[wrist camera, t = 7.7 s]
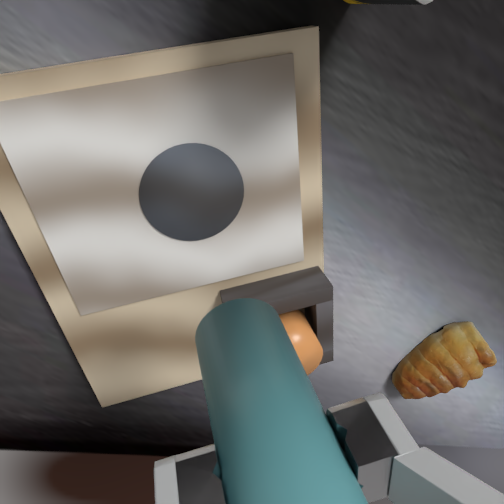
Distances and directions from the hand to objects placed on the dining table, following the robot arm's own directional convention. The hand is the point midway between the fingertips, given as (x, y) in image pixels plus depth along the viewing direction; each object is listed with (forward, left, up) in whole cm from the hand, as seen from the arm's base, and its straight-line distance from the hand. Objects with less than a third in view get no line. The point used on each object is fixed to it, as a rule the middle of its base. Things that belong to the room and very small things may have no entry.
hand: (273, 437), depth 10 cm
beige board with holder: (+4, -1, -17) cm, 17 cm away
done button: (+11, +4, -14) cm, 19 cm away
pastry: (+22, +20, -17) cm, 35 cm away
